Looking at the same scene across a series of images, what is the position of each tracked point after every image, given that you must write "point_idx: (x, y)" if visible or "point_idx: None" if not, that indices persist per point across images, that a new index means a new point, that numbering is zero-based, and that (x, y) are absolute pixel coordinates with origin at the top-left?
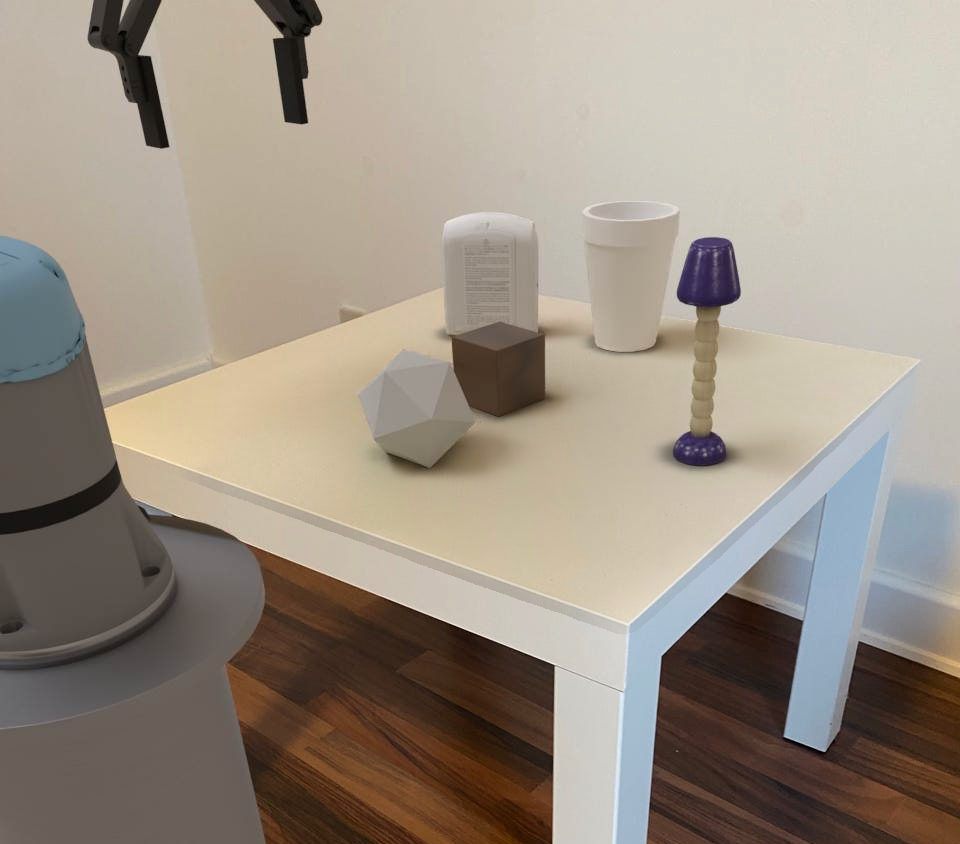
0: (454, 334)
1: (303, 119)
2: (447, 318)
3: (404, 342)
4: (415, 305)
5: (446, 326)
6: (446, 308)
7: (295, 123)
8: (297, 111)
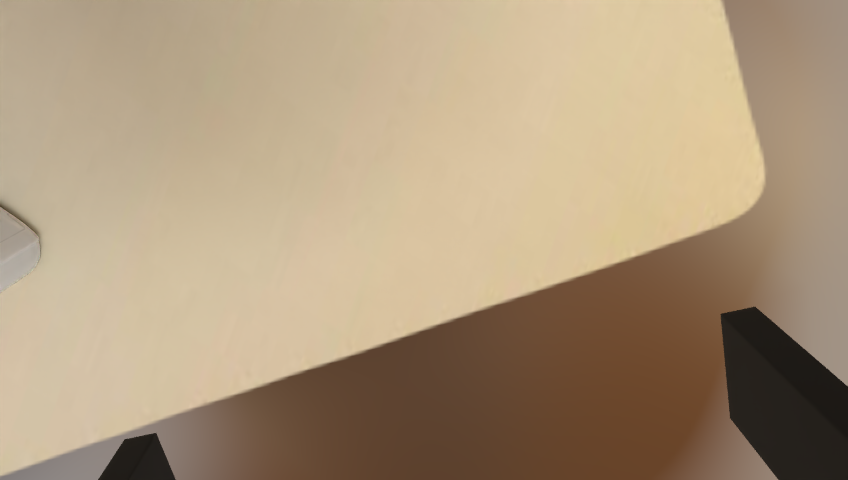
0: (29, 228)
1: (137, 446)
2: (23, 247)
3: (131, 261)
4: (44, 440)
5: (33, 254)
6: (12, 254)
7: (169, 466)
8: (145, 471)
